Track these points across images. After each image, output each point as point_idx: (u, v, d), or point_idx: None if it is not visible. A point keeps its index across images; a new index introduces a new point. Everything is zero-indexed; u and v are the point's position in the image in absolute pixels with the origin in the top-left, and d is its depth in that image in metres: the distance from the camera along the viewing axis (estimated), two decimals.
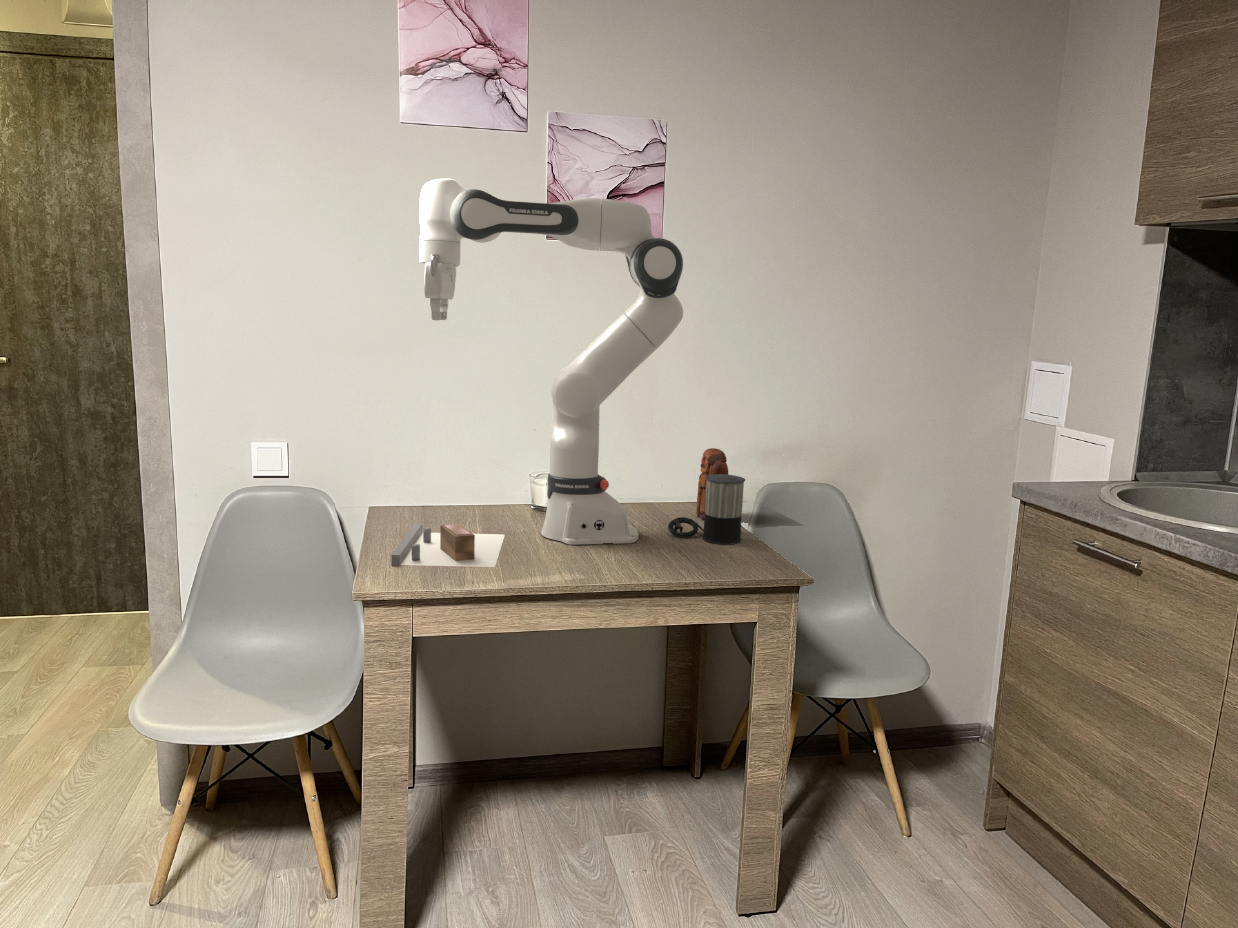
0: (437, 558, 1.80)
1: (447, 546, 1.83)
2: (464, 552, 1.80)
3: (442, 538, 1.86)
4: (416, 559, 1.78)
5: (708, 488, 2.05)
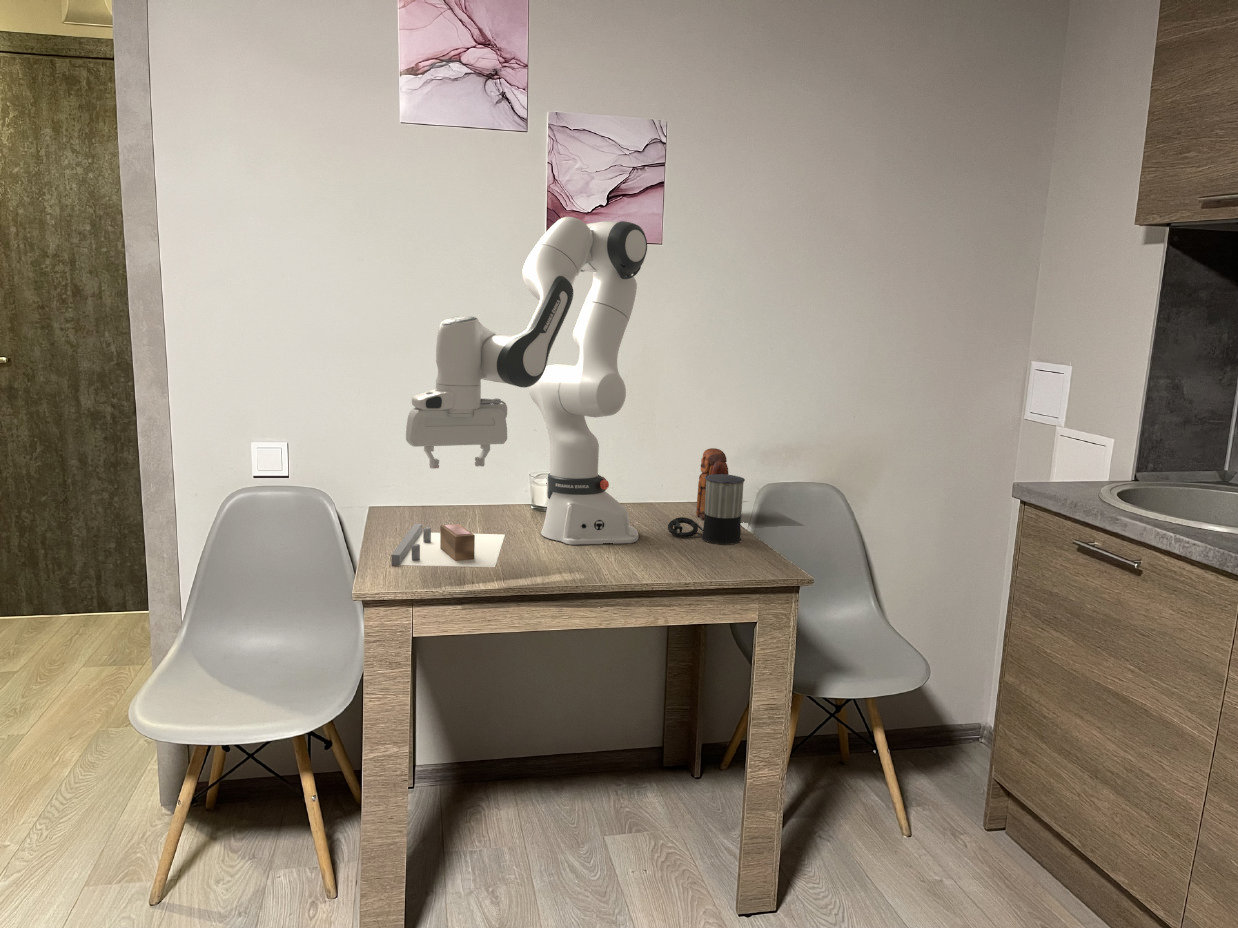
0: (437, 558, 1.80)
1: (447, 546, 1.83)
2: (464, 552, 1.80)
3: (442, 538, 1.86)
4: (416, 559, 1.78)
5: (708, 488, 2.05)
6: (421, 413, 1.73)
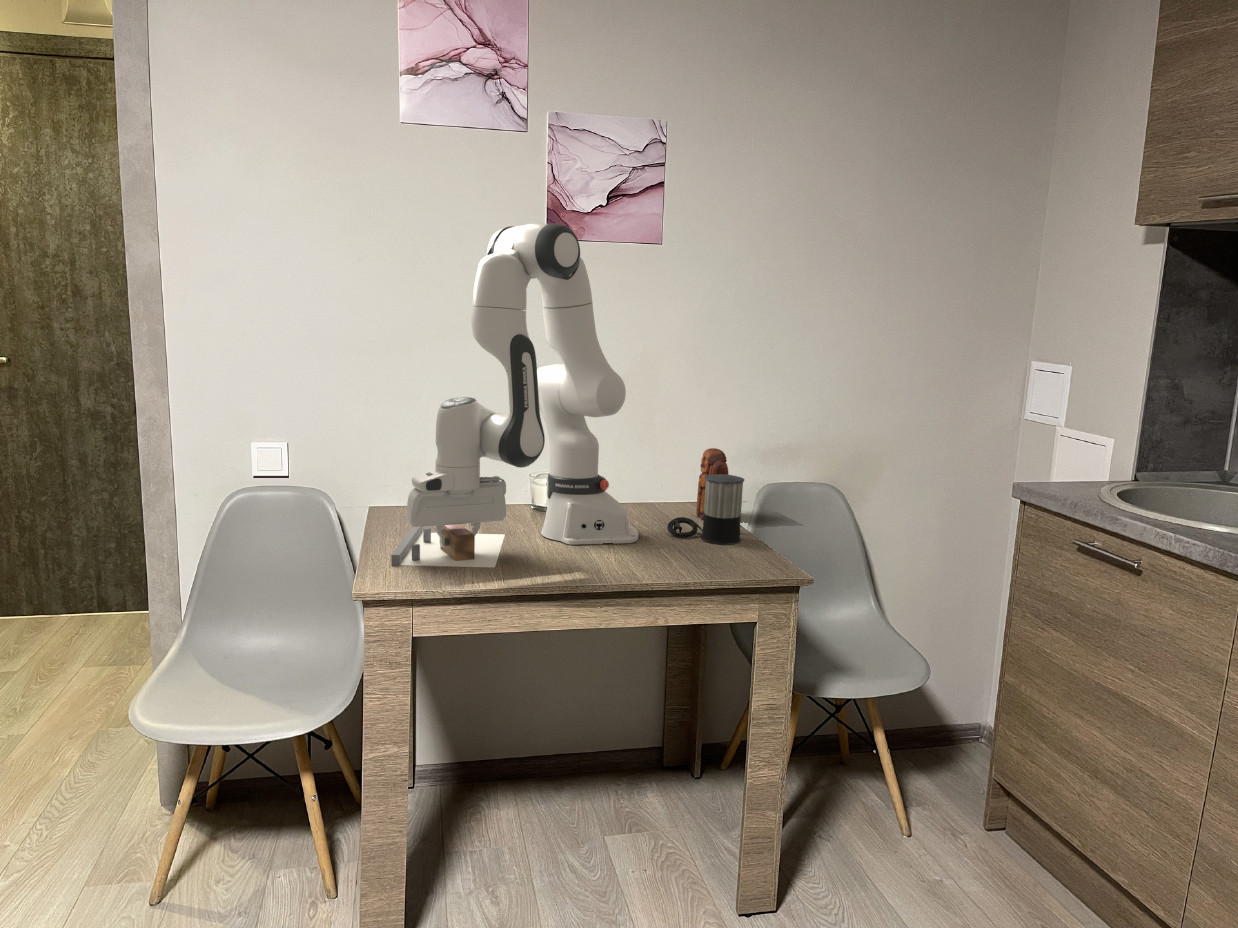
0: (437, 558, 1.80)
1: (447, 546, 1.83)
2: (464, 552, 1.80)
3: None
4: (416, 559, 1.78)
5: (707, 488, 2.05)
6: (422, 495, 1.76)
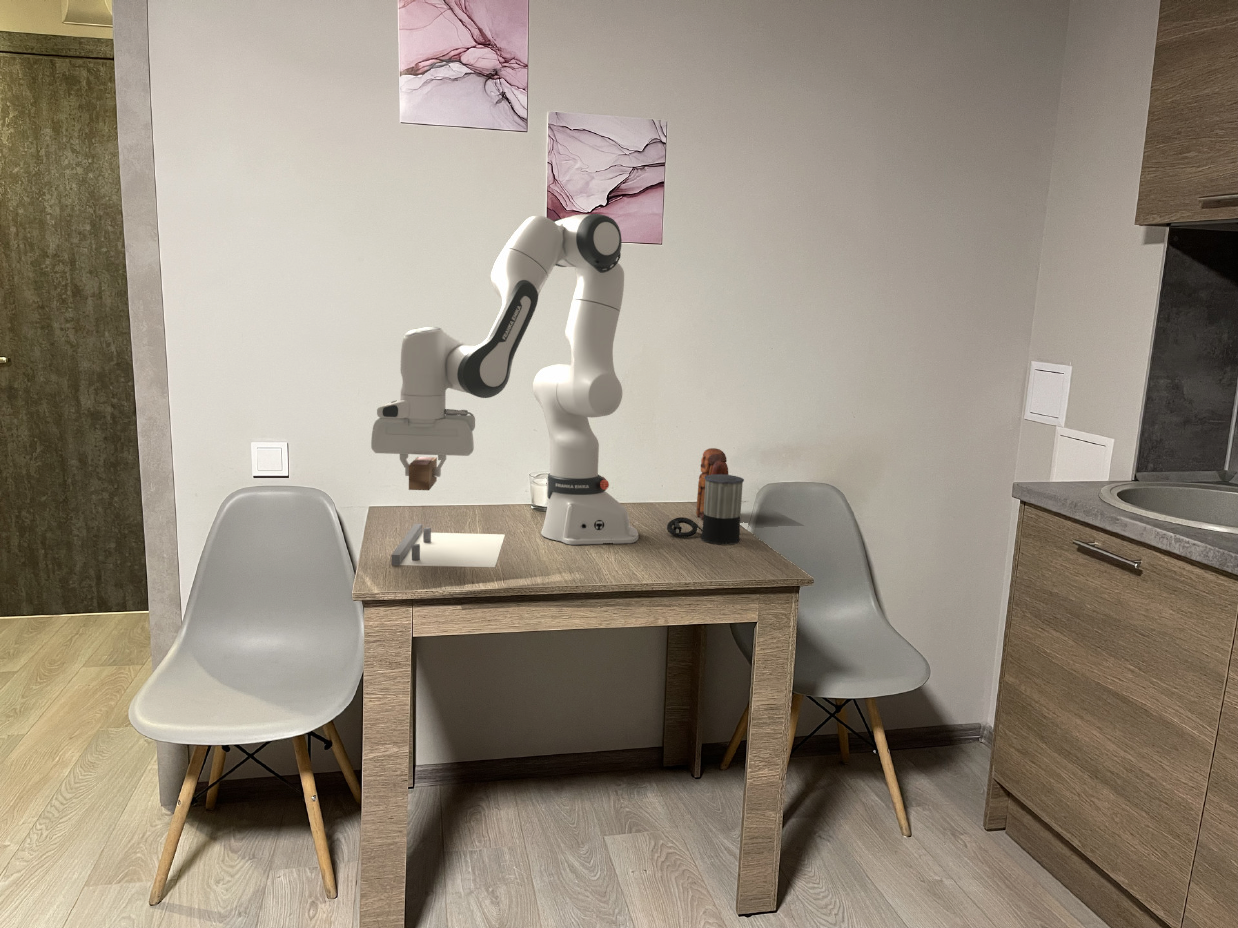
0: (437, 558, 1.80)
1: None
2: (419, 482, 1.78)
3: None
4: (416, 559, 1.78)
5: (707, 488, 2.05)
6: (380, 421, 1.78)
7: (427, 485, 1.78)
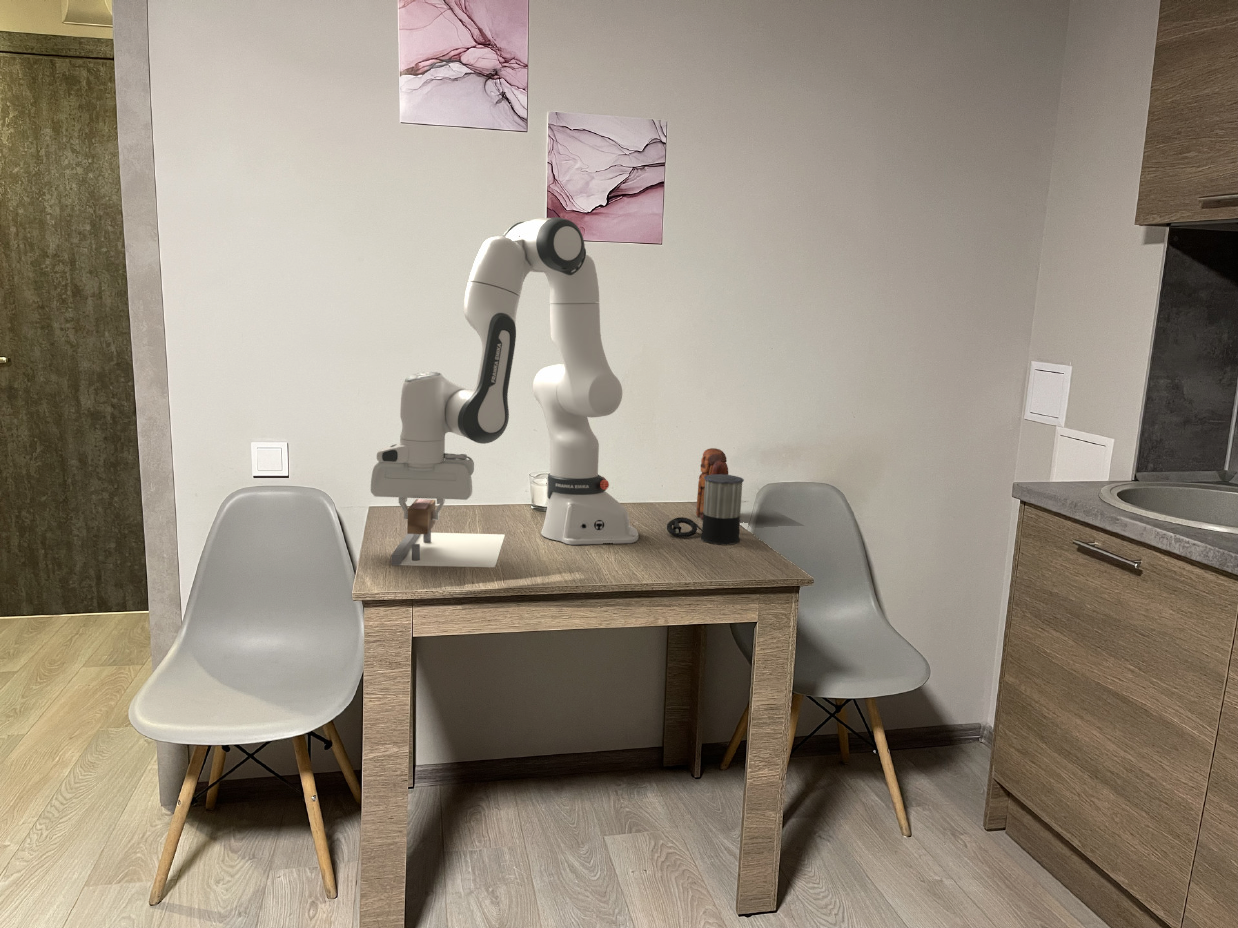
0: (437, 558, 1.80)
1: None
2: (417, 526, 1.80)
3: None
4: (416, 559, 1.78)
5: (706, 488, 2.05)
6: (379, 465, 1.80)
7: (426, 529, 1.80)
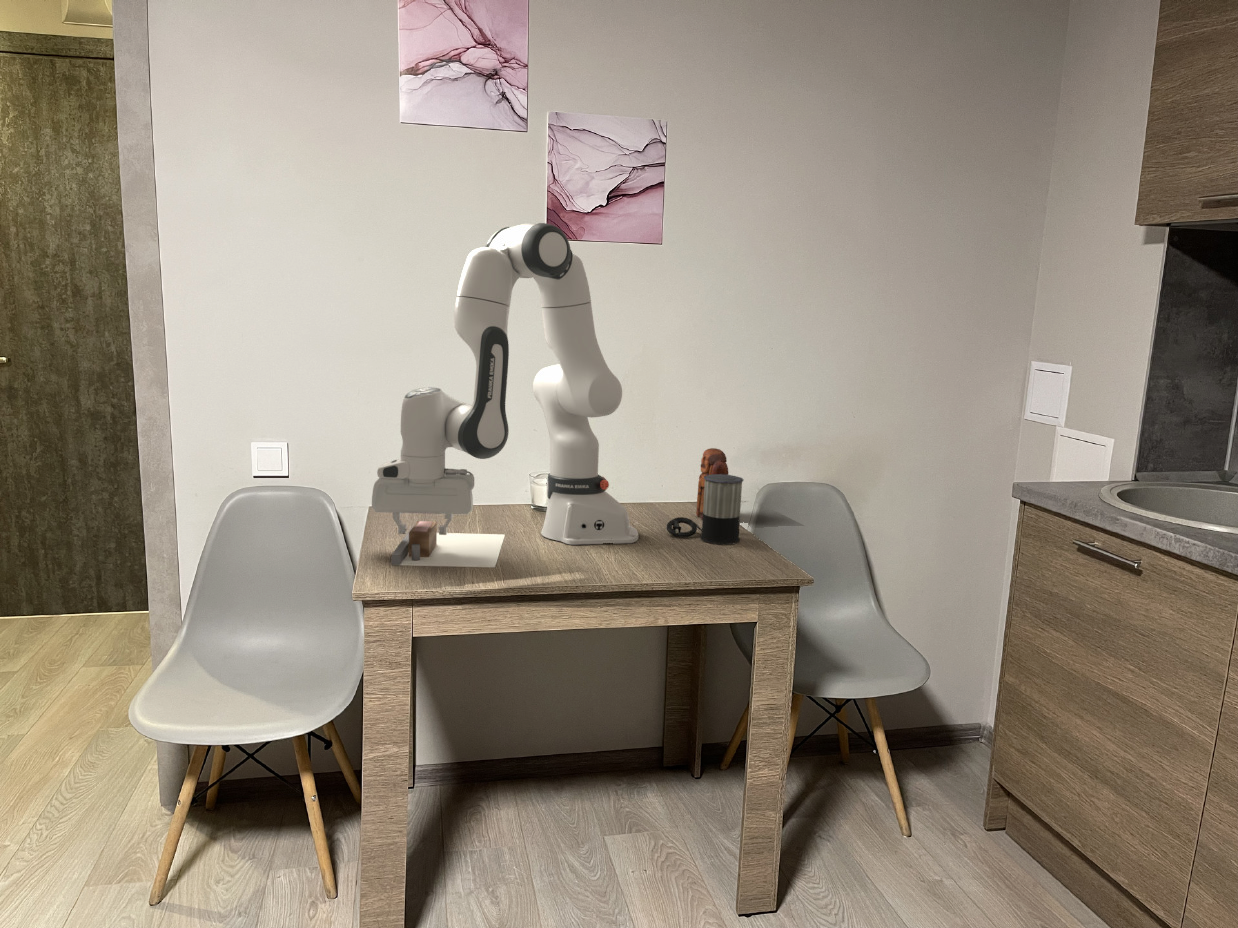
0: (437, 558, 1.80)
1: None
2: None
3: None
4: (416, 559, 1.78)
5: (706, 488, 2.05)
6: (380, 481, 1.80)
7: (427, 552, 1.81)
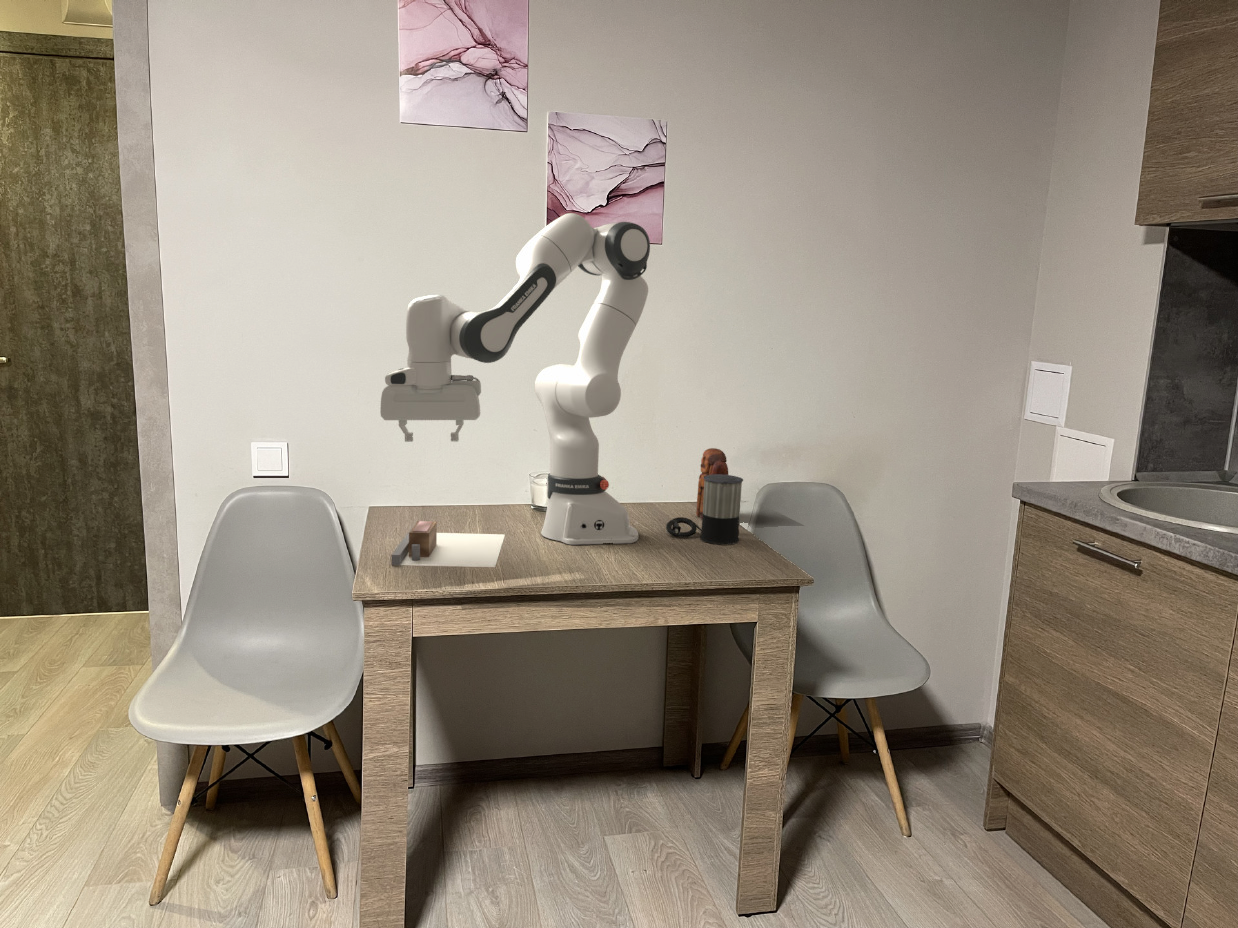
0: (437, 558, 1.80)
1: None
2: None
3: None
4: (416, 559, 1.78)
5: (706, 488, 2.05)
6: (388, 388, 1.83)
7: (427, 552, 1.81)
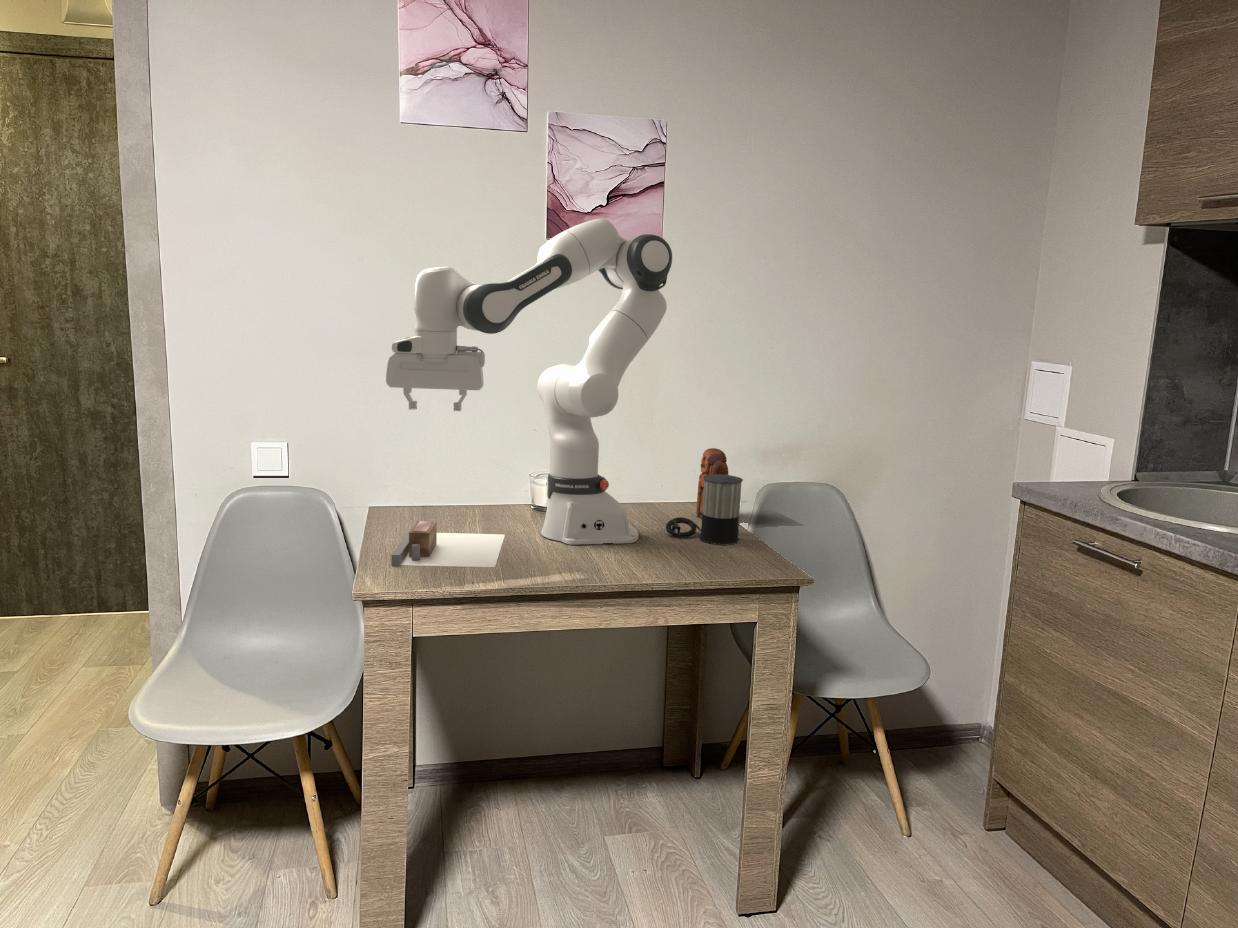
0: (437, 558, 1.80)
1: None
2: None
3: None
4: (416, 559, 1.78)
5: (705, 488, 2.05)
6: (394, 356, 1.87)
7: (427, 552, 1.81)
